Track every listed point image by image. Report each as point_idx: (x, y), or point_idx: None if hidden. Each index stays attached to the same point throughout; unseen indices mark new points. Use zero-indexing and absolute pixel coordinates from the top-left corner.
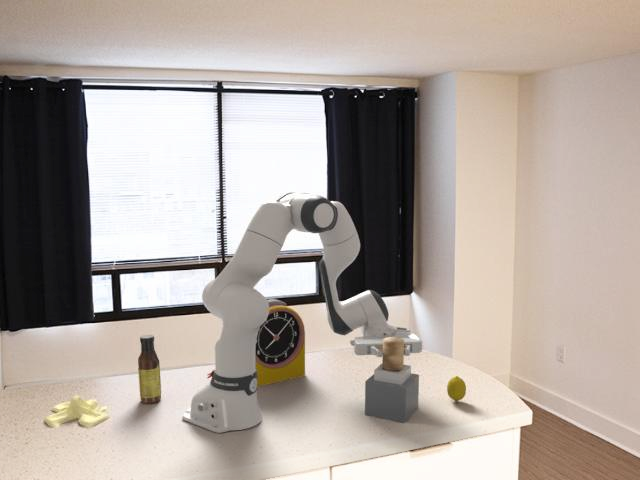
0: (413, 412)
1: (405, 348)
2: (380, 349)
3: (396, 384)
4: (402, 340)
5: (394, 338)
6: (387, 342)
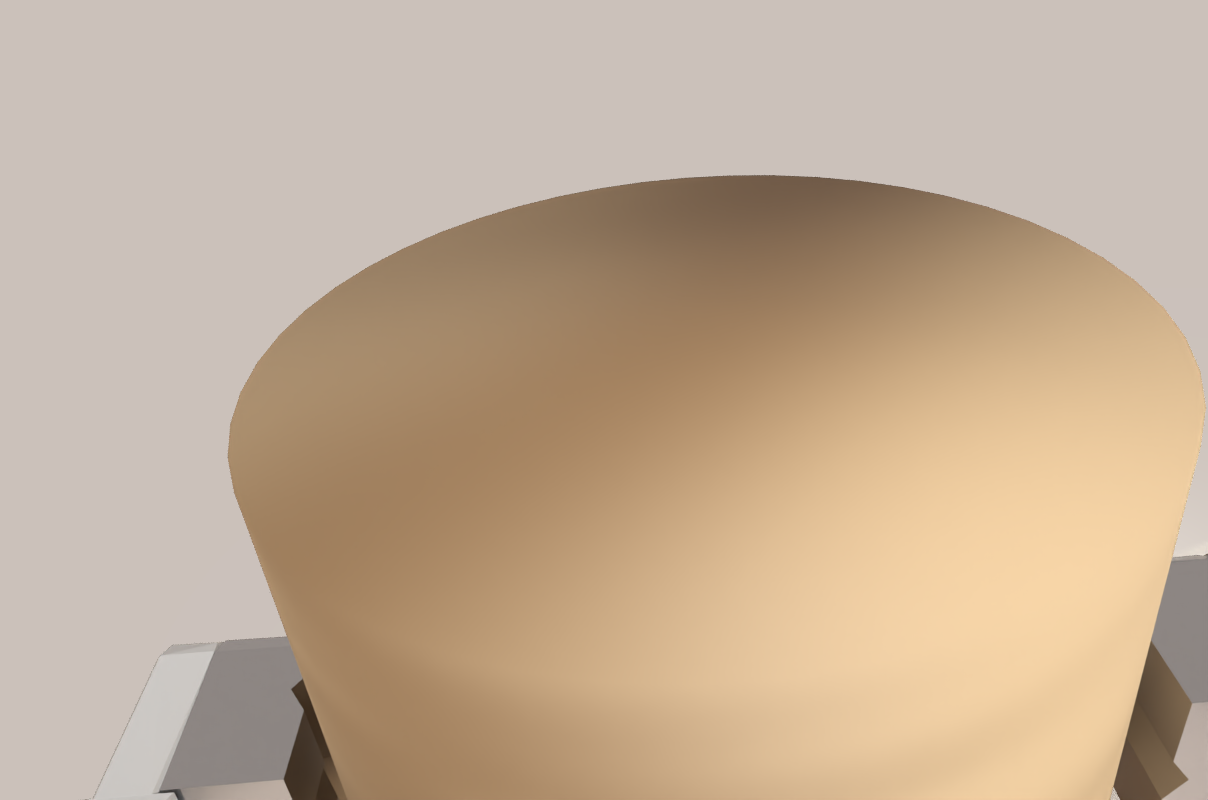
0: None
1: (218, 767)
2: (1203, 681)
3: None
4: (335, 335)
5: (587, 488)
6: (941, 209)
